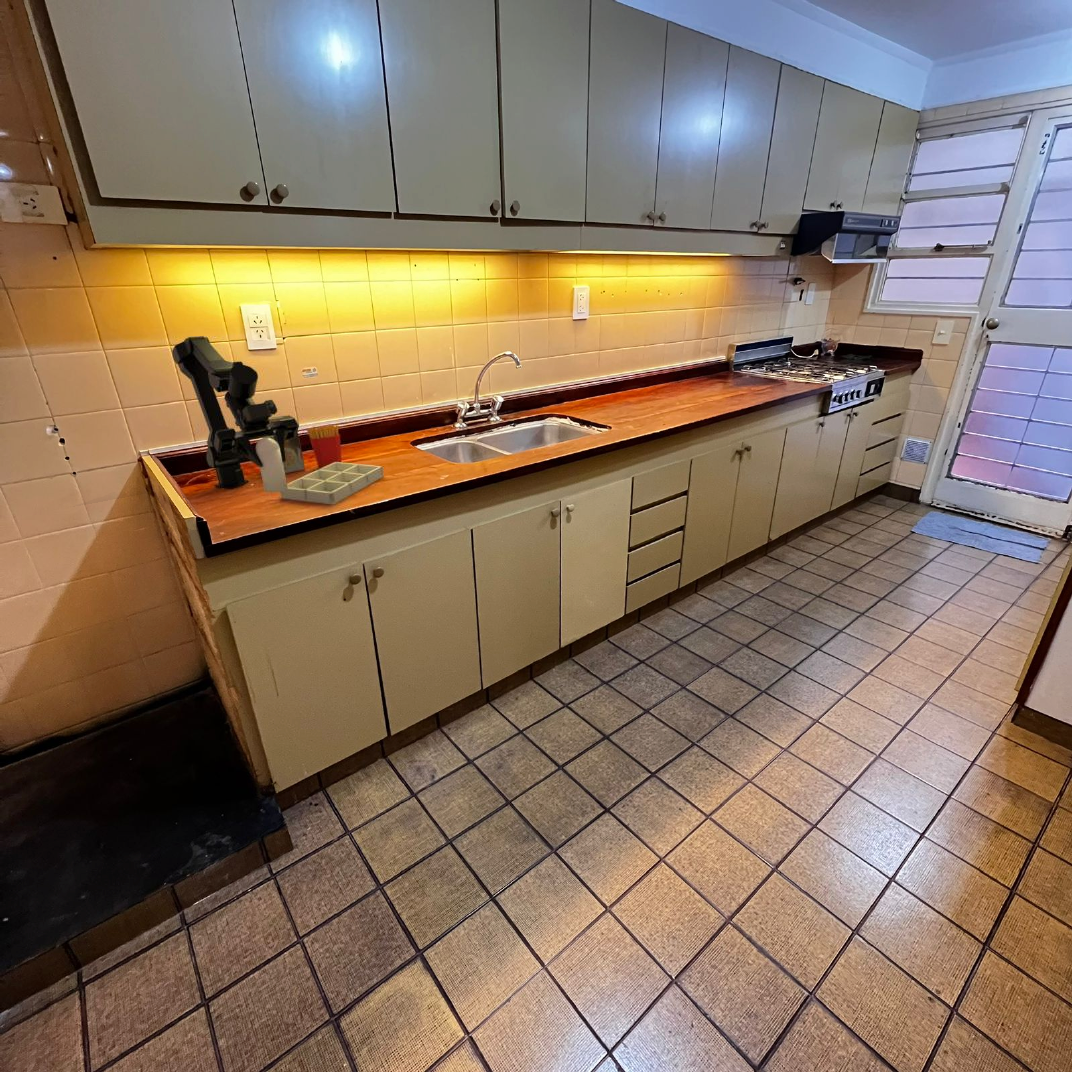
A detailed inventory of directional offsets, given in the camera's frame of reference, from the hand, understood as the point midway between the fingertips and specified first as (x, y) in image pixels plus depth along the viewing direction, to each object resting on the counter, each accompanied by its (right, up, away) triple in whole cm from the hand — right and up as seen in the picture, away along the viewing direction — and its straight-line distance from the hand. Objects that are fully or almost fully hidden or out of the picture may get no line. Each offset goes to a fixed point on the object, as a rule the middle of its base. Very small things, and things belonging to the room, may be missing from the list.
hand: (273, 463), depth 135 cm
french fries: (-3, +5, +43) cm, 44 cm away
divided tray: (+6, -3, +25) cm, 26 cm away
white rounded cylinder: (-1, -6, +4) cm, 7 cm away
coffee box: (-14, +3, +40) cm, 43 cm away
